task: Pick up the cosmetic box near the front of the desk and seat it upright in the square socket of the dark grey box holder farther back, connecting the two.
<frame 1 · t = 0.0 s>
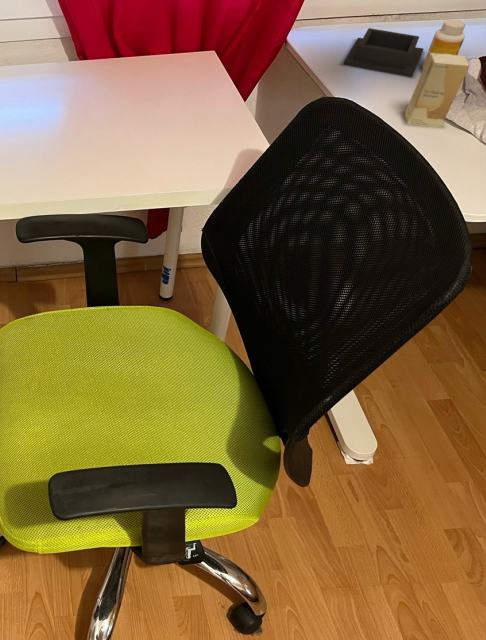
cosmetic box: (422, 122, 132), on the table
supplement bottle: (434, 73, 146), on the table
dark grey box holder: (382, 59, 151), on the table
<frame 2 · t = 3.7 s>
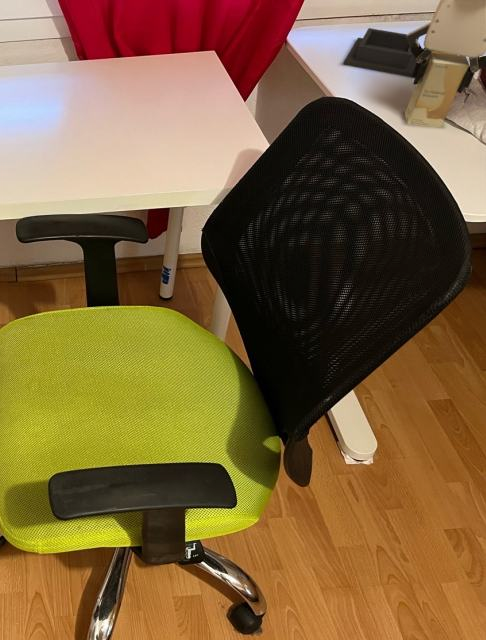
hand: (437, 85, 126), 7 cm above the table, tool pointing down, fingers closed on cosmetic box, 7 cm apart
cosmetic box: (422, 122, 132), on the table, touching gripper
everything else where it was.
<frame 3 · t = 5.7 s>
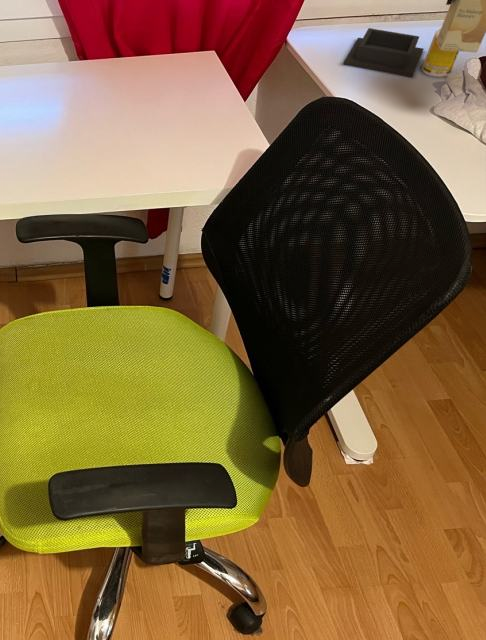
hand: (473, 4, 116), 21 cm above the table, tool pointing down, fingers closed on cosmetic box, 7 cm apart
cosmetic box: (456, 48, 121), point 14 cm above the table, touching gripper
everything else where it was.
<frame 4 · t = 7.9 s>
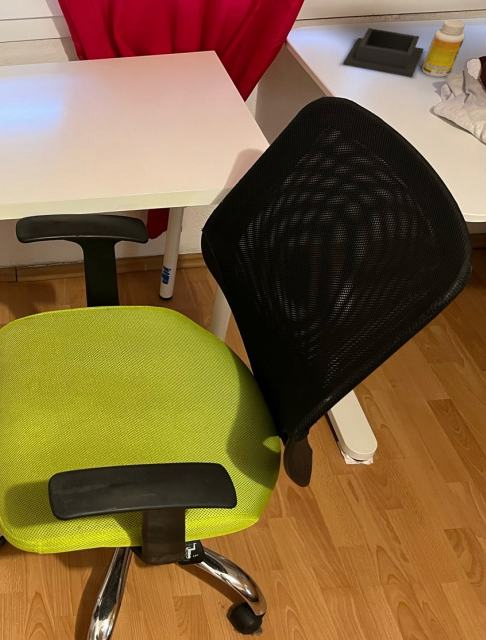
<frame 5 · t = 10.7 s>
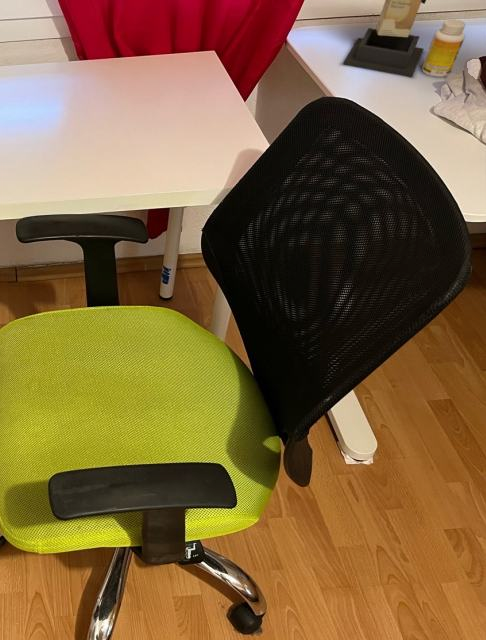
cosmetic box: (392, 34, 147), point 6 cm above the table, touching gripper
everything else where it was.
when the fingers open (8 cm above the table, at t = 12.6 s): cosmetic box stays where it is, resting on dark grey box holder.
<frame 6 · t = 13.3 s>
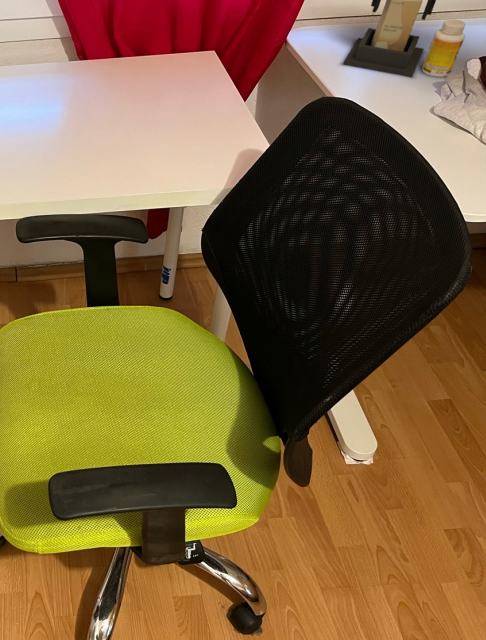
hand: (399, 13, 144), 10 cm above the table, tool pointing down, fingers open, 9 cm apart
cosmetic box: (384, 55, 150), point 1 cm above the table, touching dark grey box holder
everything else where it was.
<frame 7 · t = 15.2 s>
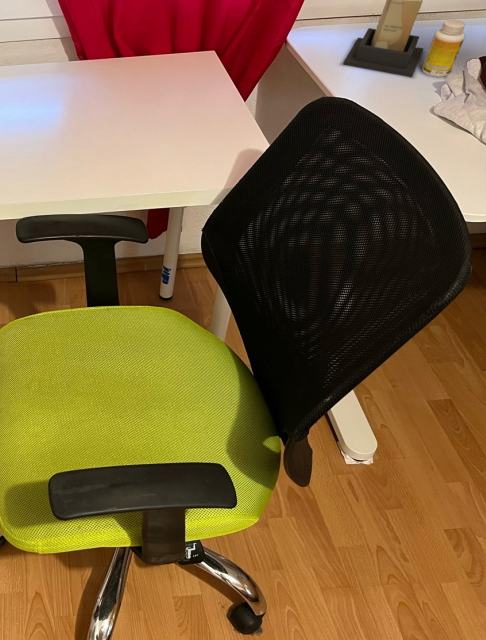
nothing on the table moved.
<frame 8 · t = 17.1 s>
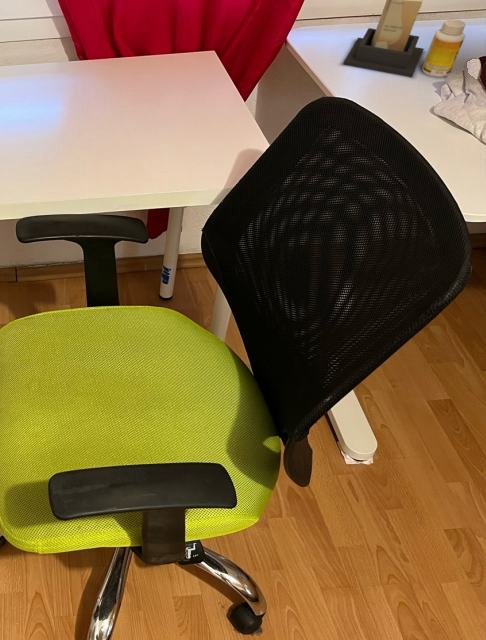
nothing on the table moved.
at the end: cosmetic box 0.1 cm off-centre on the dark grey box holder, point 0.8 cm above the dark grey box holder's base; cosmetic box tilted 0°; the gripper is holding nothing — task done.
